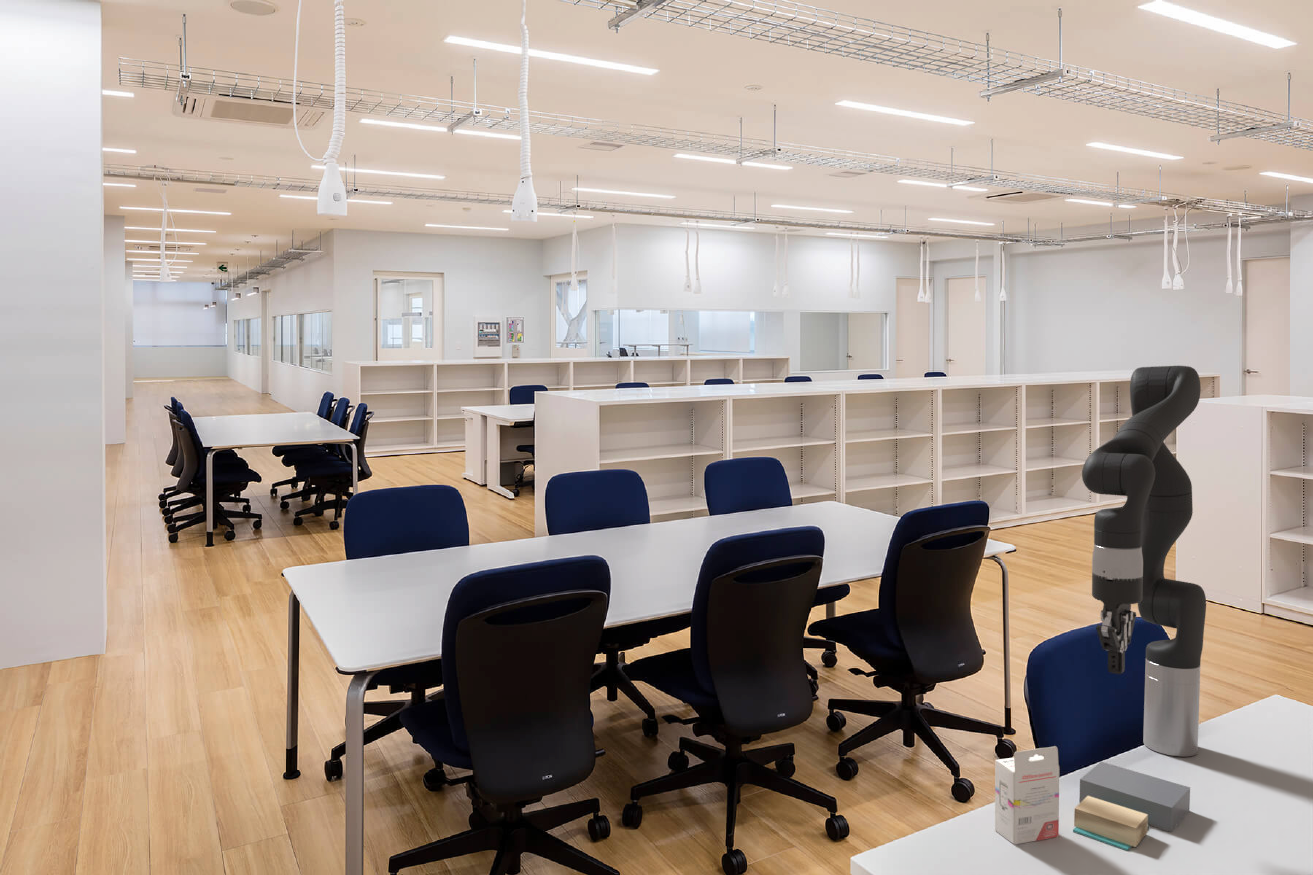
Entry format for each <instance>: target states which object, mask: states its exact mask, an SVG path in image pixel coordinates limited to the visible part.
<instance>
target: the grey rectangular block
mask: <svg viewBox="0 0 1313 875" xmlns="http://www.w3.org/2000/svg"><path fill="white" fill-rule="evenodd" d="M1087 796H1091V797H1094V798H1097V799H1100V800H1103V801H1106V802H1110V803H1113V804H1116V805H1119V806H1122V807H1126V808H1129V809H1132V810H1135V811H1138V812H1142V813H1145V814H1148V826H1151V827H1155V828H1157V829H1160V830H1163V831H1167V832H1170V833H1172V832H1173V830H1175V828H1176V827H1177V826H1178V825H1179V823H1180V822H1182V820H1183V819H1185V817H1186V815H1188V814H1189V812H1190V807H1191V806H1190V803H1191V801H1190V800H1191V787H1190V786H1186V785H1183V784H1180V783H1177V782H1173V781H1169V780H1166V779H1162V778H1159V777H1156V776H1152V775H1149V774H1145V773H1141V772H1139V771H1135V770H1133V769H1129V768H1124V767H1122V766H1117V765H1114V764H1111V763H1107V762H1104V761H1100V762H1098V764H1096V765H1095V766H1094V767H1093V768H1091V769H1090V770H1089V771H1088V772H1087V773H1086V774H1084V775H1082V777H1080V778H1079V803H1081V802H1082V801H1083V800H1084V799H1085V798H1086V797H1087Z"/></svg>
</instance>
